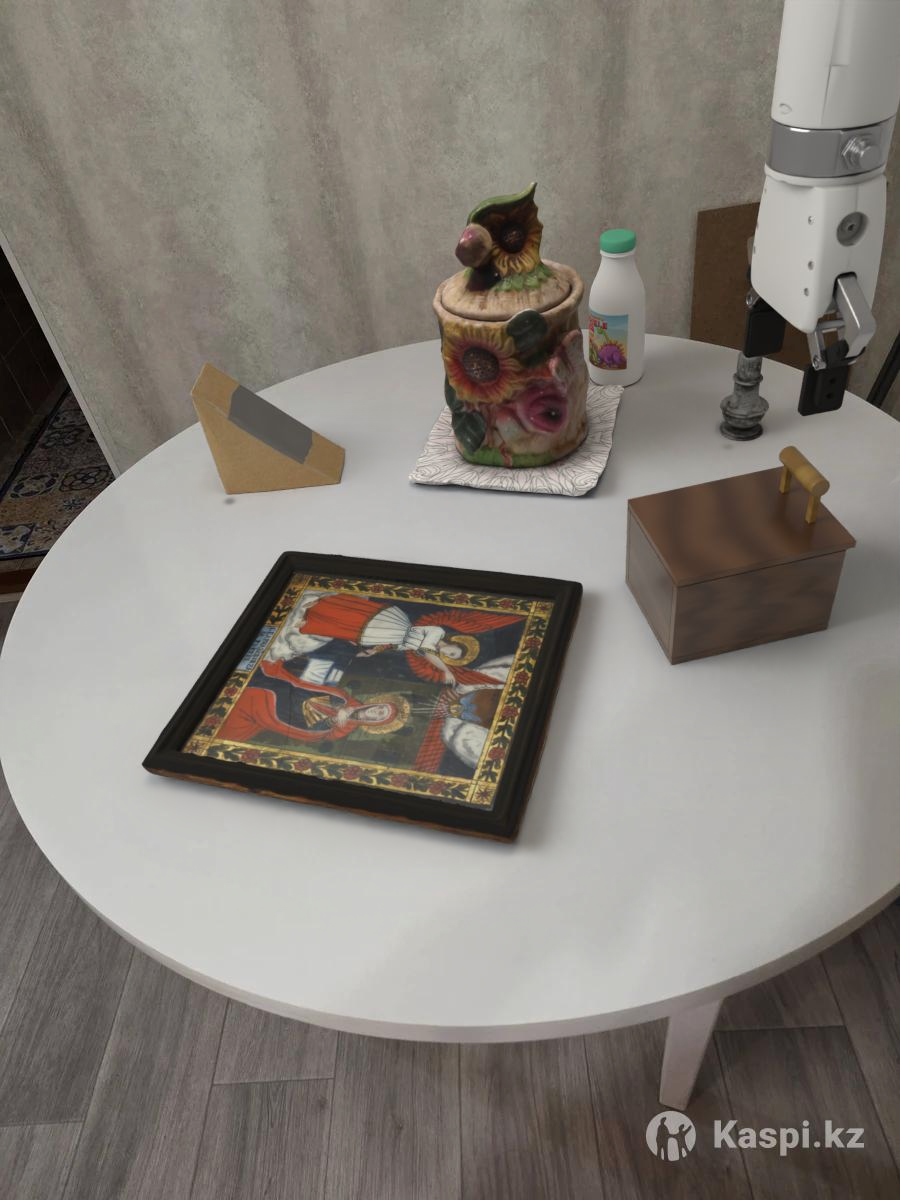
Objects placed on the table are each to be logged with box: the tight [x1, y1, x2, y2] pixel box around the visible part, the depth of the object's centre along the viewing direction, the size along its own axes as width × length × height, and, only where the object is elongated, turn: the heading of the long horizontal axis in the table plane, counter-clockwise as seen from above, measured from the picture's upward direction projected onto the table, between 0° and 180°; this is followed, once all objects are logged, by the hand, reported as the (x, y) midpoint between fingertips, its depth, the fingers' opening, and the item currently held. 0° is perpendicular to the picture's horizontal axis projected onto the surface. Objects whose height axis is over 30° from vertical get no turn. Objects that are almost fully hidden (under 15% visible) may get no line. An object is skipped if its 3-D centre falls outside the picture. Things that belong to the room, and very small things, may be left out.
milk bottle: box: [588, 228, 647, 387], centre depth 118 cm, size 8×8×20 cm
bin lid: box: [627, 445, 858, 587], centre depth 79 cm, size 17×13×6 cm
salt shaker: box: [719, 349, 770, 442], centre depth 107 cm, size 6×6×12 cm
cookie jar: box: [408, 181, 624, 497], centre depth 104 cm, size 25×25×32 cm
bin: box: [624, 506, 847, 666], centre depth 85 cm, size 16×13×10 cm
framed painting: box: [141, 550, 584, 844], centre depth 84 cm, size 38×35×3 cm
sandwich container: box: [190, 361, 345, 495], centre depth 111 cm, size 9×15×15 cm, turn 90°
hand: (788, 381), depth 68 cm, fingers open, 9 cm apart
